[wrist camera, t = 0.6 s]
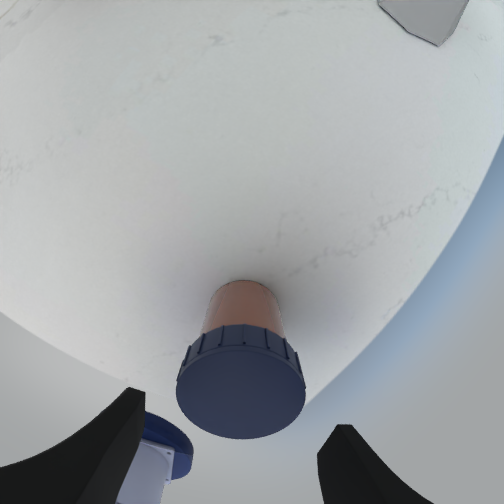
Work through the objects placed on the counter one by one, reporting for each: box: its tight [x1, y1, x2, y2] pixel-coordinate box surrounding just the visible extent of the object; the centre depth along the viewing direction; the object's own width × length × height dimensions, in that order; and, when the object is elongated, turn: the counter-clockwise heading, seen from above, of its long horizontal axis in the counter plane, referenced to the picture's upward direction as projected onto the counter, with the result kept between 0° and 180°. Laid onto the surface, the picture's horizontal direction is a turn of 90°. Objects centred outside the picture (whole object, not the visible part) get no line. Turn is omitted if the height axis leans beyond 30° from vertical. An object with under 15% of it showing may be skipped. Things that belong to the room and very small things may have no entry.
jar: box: [199, 280, 286, 339], centre depth 15 cm, size 5×5×8 cm
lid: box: [176, 323, 306, 439], centre depth 11 cm, size 5×5×2 cm
